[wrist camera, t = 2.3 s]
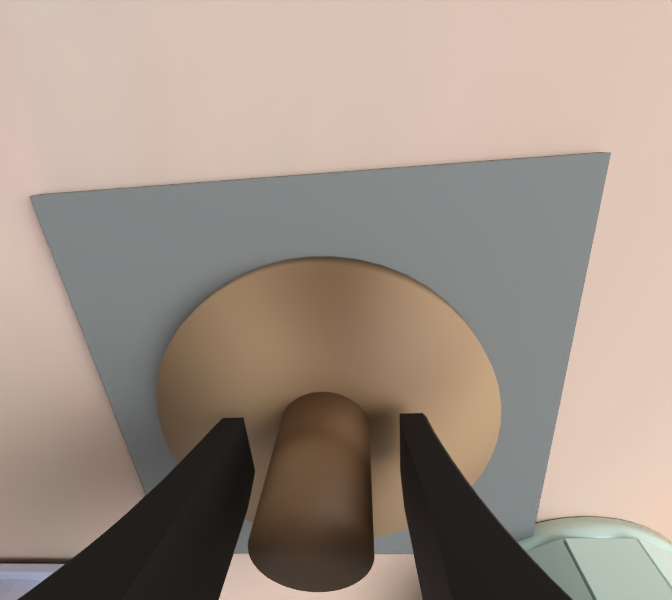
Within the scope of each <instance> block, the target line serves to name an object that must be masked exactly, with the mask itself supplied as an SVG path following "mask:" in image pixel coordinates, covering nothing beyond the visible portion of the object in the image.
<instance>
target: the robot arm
mask: <svg viewBox="0 0 672 600" xmlns="http://www.w3.org/2000/svg"><path fill="white" fill-rule="evenodd" d="M400 473H401V483H402V492H403V501H404V509H405V514H406V519H407V524H408V529H409V534H410V539H411V544H412V549H413V553H414V558H415V563H416V568H417V573H418V578H419V583H420V587H421V592H422V597H423V600H573V599H572V598H571V597H570V596H569V595H568V594H567V593H566V592H565V591H564V590H563V589H562V588H561V587H560V586H558V585H557V584H556V583H555V582H554V581H553V580H552V579H551V578H550V577H549V576H548V574H547V573H546V572H545V571H544V570H543V569H542V568H541V567H540V566H539V565H538V564H537V563H536V562H535V561H534V560H533V559H532V558H531V557H530V556H529V554H528V553H527V552H526V551H525V550H524V549H523V548H522V547H521V546H520V545H519V543H518V542H517V541H516V540H515V539H514V538H513V537H512V536H511V535H510V533H509V532H508V531H507V530H506V529H505V528H504V526H503V525H502V524H501V523H500V522H499V520H498V519H497V518H496V517H495V516H494V514H493V513H492V512H491V511H490V510H489V508H488V507H487V506H486V504H485V503H484V502H483V501H482V499H481V498H480V497H479V496H478V494H477V493H476V492H475V490H474V489H473V488H472V486H471V485H470V484H469V482H468V481H467V480H466V478H465V477H464V475H463V474H462V473H461V471H460V470H459V468H458V467H457V466H456V464H455V463H454V461H453V460H452V458H451V457H450V455H449V454H448V452H447V451H446V449H445V448H444V446H443V445H442V443H441V441H440V440H439V438H438V437H437V435H436V433H435V431H434V430H433V428H432V426H431V424H430V423H429V421H428V419H427V417H426V416H425V415H424V414H423V413H400ZM254 476H255V468H254V463H253V458H252V454H251V449H250V445H249V440H248V436H247V431H246V427H245V422H244V417H241V418H222V419H221V420H220V421H219V422H218V423H217V424H216V425H215V426H214V427H213V428H212V429H211V430H210V431H209V432H208V433H207V434H206V435H205V437H204V438H203V439H202V440H201V441H200V442H199V443H198V444H197V445H196V446H195V447H194V448H193V449H192V450H191V451H190V452H189V453H188V454H187V455H186V457H185V458H184V459H183V460H182V461H181V462H180V463H179V464H178V465H177V466H176V467H175V468H174V469H173V470H172V471H171V472H170V473H169V474H168V475H167V476H166V477H165V478H164V479H163V480H162V481H161V482H160V483H159V484H158V485H157V486H156V487H154V488H153V489H152V490H151V491H150V492H149V493H148V494H147V495H146V496H145V497H144V498H143V499H142V500H141V501H140V502H139V503H138V504H136V505H135V506H134V507H133V508H132V509H131V510H130V511H129V512H128V513H127V514H126V515H124V516H123V517H122V518H121V519H120V520H119V521H118V522H117V523H115V524H114V525H113V526H112V527H111V528H110V529H108V530H107V531H106V532H105V533H104V534H102V535H101V536H100V537H99V538H97V539H96V540H95V541H94V542H93V543H91V544H90V545H89V546H88V547H87V548H85V549H84V550H83V551H82V552H80V553H79V554H78V555H76V556H75V557H74V558H73V559H71V560H70V561H69V562H67V563H66V564H0V600H219V597H220V593H221V590H222V587H223V584H224V581H225V578H226V575H227V572H228V569H229V566H230V563H231V560H232V557H233V554H234V550H235V547H236V544H237V541H238V538H239V535H240V532H241V529H242V526H243V523H244V519H245V516H246V513H247V510H248V505H249V501H250V496H251V491H252V486H253V481H254Z"/></svg>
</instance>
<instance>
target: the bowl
mask: <svg viewBox="0 0 672 600" xmlns="http://www.w3.org/2000/svg"><path fill="white" fill-rule="evenodd" d="M518 543H519V545H520V546H521V547H522V548H523V549H524V550H525V551H526V552H527V553H528V554H529V556H530V557H531V558H532V559H533V560H534V561H535V562H536V563H537V564H538V565H539V566H540V567H541V568H542V569H543V570H544V571H545V572H546V573H547V574H548V576H549V577H550V578H551V579H552V580H553V581H554V582H555V583H556V584H557V585H558V586H560V587H561V588H562V589H563V590H564V591H565V592H566V593H567V594H568V595H569V596H570V597H571V598H572V599H573V600H672V543H671V542H670V541H669V540H668V539H667V538H665V537H664V536H662V535H661V534H659V533H657V532H655V531H653V530H651V529H649V528H647V527H644V526H642V525H639V524H636V523H632V522H628V521H624V520H619V519H612V518H604V517H571V518H562V519H555V520H549V521H545V522H540V523H536V524H535V528H534V533H533V536H532V537H529V538H525V539H523V540H520V541H518Z"/></svg>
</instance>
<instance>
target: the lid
mask: <svg viewBox="0 0 672 600" xmlns="http://www.w3.org/2000/svg"><path fill="white" fill-rule="evenodd" d="M156 400H157V410H158V417H159V421H160V425H161V428H162V432H163V435H164V437H165V439H166V442H167V444H168V446H169V449H170V450H171V452H172V454H173V455H174V457H175V459H176V460H177V462H178V464H179V463H180V462H181V461H182V460H183V459H184V458H185V457H186V455H187V454H188V453H189V452H190V451H191V450H192V449H193V448H194V447H195V446H196V445H197V444H198V443H199V442H200V441H201V440H202V439H203V438H204V437H205V435H206V434H207V433H208V432H209V431H210V430H211V429H212V428H213V427H214V426H215V425H216V424H217V423H218V422H219V421H220V420H221V419H222V418H241V417H244V422H245V427H246V431H247V436H248V440H249V445H250V449H251V454H252V458H253V463H254V468H255V476H254V481H253V486H252V491H251V496H250V501H249V505H248V510H247V513H246V516H245V519H246V520H247V521H250V522H252V523H253V525H252V529H251V532H250V536H249V540H248V552H249V555H250V558H251V560H252V562H253V564H254V565H255V566H256V567H257V569H258V570H259V571H260V572H261V573H263V574H264V575H265V576H266V577H268V578H269V579H271V580H273V581H275V582H277V583H279V584H281V585H283V586H286V587H289V588H292V589H296V590H301V591H308V592H328V591H335V590H340V589H343V588H346V587H349V586H351V585H353V584H355V583H357V582H358V581H360V580H361V579H362V578H364V577H365V576H366V575H367V574H368V572H369V571H370V569H371V567H372V565H373V562H374V538H375V537H380V536H384V535H389V534H393V533H396V532H399V531H402V530H405V529H408V524H407V519H406V514H405V509H404V501H403V492H402V483H401V473H400V413H423V414H424V415H425V416H426V417H427V419H428V421H429V423H430V424H431V426H432V428H433V430H434V431H435V433H436V435H437V437H438V438H439V440H440V441H441V443H442V445H443V446H444V448H445V449H446V451H447V452H448V454H449V455H450V457H451V458H452V460H453V461H454V463H455V464H456V466H457V467H458V468H459V470H460V471H461V473H462V474H463V475H464V477H465V478H466V480H467V481H468V482H469V484H470V485H471V486H473V484H474V483H475V482H476V481H477V479H478V478H479V477H480V475H481V474H482V473H483V471H484V469H485V467H486V466H487V464H488V462H489V460H490V459H491V456H492V454H493V451H494V448H495V446H496V443H497V440H498V435H499V430H500V425H501V399H500V392H499V385H498V382H497V379H496V376H495V373H494V370H493V367H492V365H491V363H490V361H489V359H488V357H487V355H486V353H485V351H484V349H483V347H482V346H481V344H480V342H479V341H478V339H477V337H476V336H475V334H474V332H473V331H472V330H471V328H470V327H469V326H468V324H467V323H466V322H465V320H464V319H463V317H462V316H461V315H460V314H459V313H458V312H457V311H456V310H455V309H454V308H453V307H452V306H451V305H450V304H449V303H448V302H447V301H446V300H445V299H443V298H442V297H441V296H440V295H438V294H437V293H436V292H434V291H433V290H432V289H430V288H429V287H428V286H426V285H424V284H422V283H421V282H419V281H417V280H415V279H413V278H412V277H410V276H408V275H406V274H404V273H401V272H398V271H396V270H393V269H391V268H388V267H386V266H383V265H379V264H375V263H371V262H367V261H363V260H360V259H352V258H343V257H335V256H309V257H301V258H294V259H286V260H282V261H278V262H274V263H271V264H267V265H263V266H260V267H258V268H255V269H253V270H251V271H248V272H246V273H244V274H241V275H239V276H238V277H236V278H234V279H233V280H231V281H229V282H228V283H226V284H224V285H223V286H221V287H220V288H219V289H217V290H216V291H215V292H214V293H212V294H211V295H210V296H209V297H208V298H206V299H205V300H204V301H203V302H202V303H201V304H200V305H199V306H198V307H197V308H196V309H195V311H194V312H193V313H192V314H191V315H190V316H189V317H188V318H187V319H186V321H185V322H184V323H183V324H182V325H181V326H180V327H179V329H178V330H177V332H176V334H175V335H174V337H173V338H172V340H171V341H170V343H169V345H168V347H167V350H166V352H165V354H164V357H163V359H162V362H161V366H160V370H159V374H158V379H157V393H156Z"/></svg>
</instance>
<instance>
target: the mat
mask: <svg viewBox="0 0 672 600" xmlns="http://www.w3.org/2000/svg"><path fill="white" fill-rule="evenodd" d="M610 154H611V153H606V152H596V153H583V154H569V155H556V156H543V157H529V158H516V159H503V160H489V161H476V162H463V163H449V164H436V165H423V166H409V167H396V168H383V169H369V170H356V171H343V172H329V173H316V174H303V175H289V176H276V177H263V178H250V179H236V180H223V181H210V182H196V183H183V184H170V185H156V186H143V187H130V188H116V189H103V190H90V191H76V192H63V193H50V194H39V195H34V196H29V197H30V199H31V202H32V204H33V207H34V210H35V212H36V215H37V217H38V220H39V222H40V225H41V227H42V230H43V233H44V235H45V238H46V240H47V243H48V245H49V248H50V250H51V253H52V256H53V258H54V261H55V263H56V266H57V268H58V271H59V273H60V276H61V279H62V281H63V284H64V286H65V289H66V291H67V294H68V296H69V299H70V302H71V304H72V307H73V309H74V312H75V314H76V317H77V319H78V322H79V325H80V327H81V330H82V332H83V335H84V337H85V340H86V342H87V345H88V348H89V350H90V353H91V355H92V358H93V360H94V363H95V365H96V368H97V371H98V373H99V376H100V378H101V381H102V383H103V386H104V388H105V391H106V394H107V396H108V399H109V401H110V404H111V406H112V409H113V411H114V414H115V417H116V419H117V422H118V424H119V427H120V429H121V432H122V434H123V437H124V440H125V442H126V445H127V447H128V450H129V452H130V455H131V457H132V460H133V463H134V465H135V468H136V470H137V473H138V475H139V478H140V480H141V483H142V486H143V488H144V491H145V493H146V495H147V494H148V493H149V492H150V491H151V490H152V489H153V488H154V487H156V486H157V485H158V484H159V483H160V482H161V481H162V480H163V479H164V478H165V477H166V476H167V475H168V474H169V473H170V472H171V471H172V470H173V469H174V468H175V467H176V466H177V465H178V462H177V460H176V459H175V457H174V455H173V454H172V452H171V450H170V449H169V446H168V444H167V442H166V439H165V437H164V435H163V432H162V428H161V425H160V421H159V417H158V410H157V400H156V393H157V379H158V374H159V370H160V366H161V362H162V359H163V357H164V354H165V352H166V350H167V347H168V345H169V343H170V341H171V340H172V338H173V337H174V335H175V334H176V332H177V330H178V329H179V327H180V326H181V325H182V324H183V323H184V322H185V321H186V319H187V318H188V317H189V316H190V315H191V314H192V313H193V312H194V311H195V309H196V308H197V307H198V306H199V305H200V304H201V303H202V302H203V301H204V300H205V299H206V298H208V297H209V296H210V295H211V294H212V293H214V292H215V291H216V290H217V289H219V288H220V287H221V286H223V285H224V284H226V283H228V282H229V281H231V280H233V279H234V278H236V277H238V276H239V275H241V274H244V273H246V272H248V271H251V270H253V269H255V268H258V267H260V266H263V265H267V264H271V263H274V262H278V261H282V260H286V259H294V258H301V257H309V256H335V257H343V258H352V259H360V260H363V261H367V262H371V263H375V264H379V265H383V266H386V267H388V268H391V269H393V270H396V271H398V272H401V273H404V274H406V275H408V276H410V277H412V278H413V279H415V280H417V281H419V282H421V283H422V284H424V285H426V286H428V287H429V288H430V289H432V290H433V291H434V292H436V293H437V294H438V295H440V296H441V297H442V298H443V299H445V300H446V301H447V302H448V303H449V304H450V305H451V306H452V307H453V308H454V309H455V310H456V311H457V312H458V313H459V314H460V315H461V316H462V317H463V319H464V320H465V322H466V323H467V324H468V326H469V327H470V328H471V330H472V331H473V332H474V334H475V336H476V337H477V339H478V341H479V342H480V344H481V346H482V347H483V349H484V351H485V353H486V355H487V357H488V359H489V361H490V363H491V365H492V367H493V370H494V373H495V376H496V379H497V382H498V385H499V392H500V399H501V425H500V430H499V435H498V440H497V443H496V446H495V448H494V451H493V454H492V456H491V459H490V460H489V462H488V464H487V466H486V467H485V469H484V471H483V473H482V474H481V475H480V477H479V478H478V479H477V481H476V482H475V483H474V484H473V486H472V488H473V489H474V490H475V492H476V493H477V494H478V496H479V497H480V498H481V499H482V501H483V502H484V503H485V504H486V506H487V507H488V508H489V510H490V511H491V512H492V513H493V514H494V516H495V517H496V518H497V519H498V520H499V522H500V523H501V524H502V525H503V526H504V528H505V529H506V530H507V531H508V532H509V533H510V535H511V536H512V537H513V538H514V539H515V540H516V541H517V542H518V541H520V540H523V539H525V538H529V537H532V536H533V533H534V528H535V523H536V518H537V513H538V508H539V503H540V498H541V493H542V488H543V483H544V479H545V474H546V469H547V464H548V459H549V454H550V449H551V444H552V439H553V434H554V429H555V425H556V420H557V415H558V410H559V405H560V400H561V395H562V390H563V385H564V380H565V375H566V370H567V366H568V361H569V356H570V351H571V346H572V341H573V336H574V331H575V326H576V321H577V316H578V311H579V307H580V302H581V297H582V292H583V287H584V282H585V277H586V272H587V267H588V262H589V257H590V253H591V248H592V243H593V238H594V233H595V228H596V223H597V218H598V213H599V208H600V203H601V198H602V194H603V189H604V184H605V179H606V174H607V169H608V164H609V159H610ZM252 525H253V523H252V522H250V521H247V520H246V519H244V523H243V526H242V529H241V532H240V535H239V538H238V541H237V544H236V547H235V550H234V553H249V552H248V540H249V536H250V532H251V529H252ZM374 554H414V553H413V549H412V544H411V539H410V534H409V529H405V530H402V531H399V532H396V533H393V534H389V535H384V536H380V537H375V538H374Z"/></svg>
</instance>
